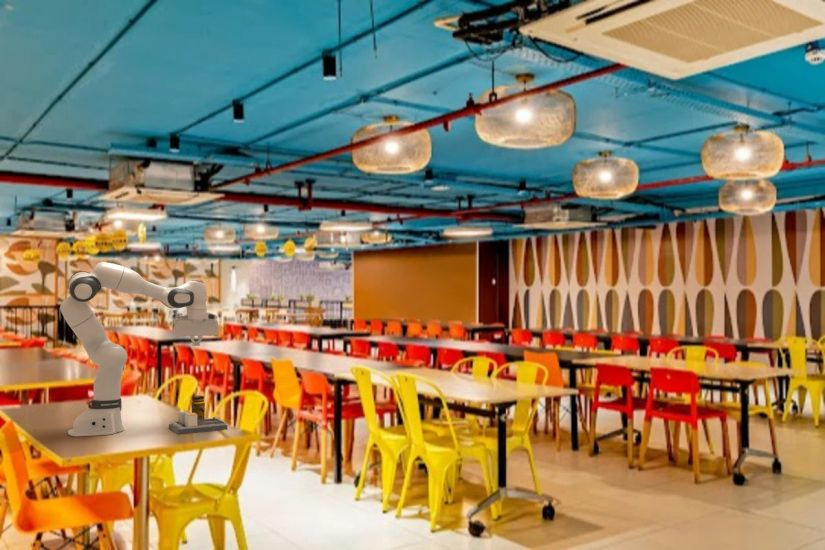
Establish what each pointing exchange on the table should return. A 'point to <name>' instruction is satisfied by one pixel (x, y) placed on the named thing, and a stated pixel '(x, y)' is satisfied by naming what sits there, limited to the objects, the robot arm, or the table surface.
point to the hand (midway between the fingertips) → (196, 345)
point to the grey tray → (199, 426)
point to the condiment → (198, 407)
